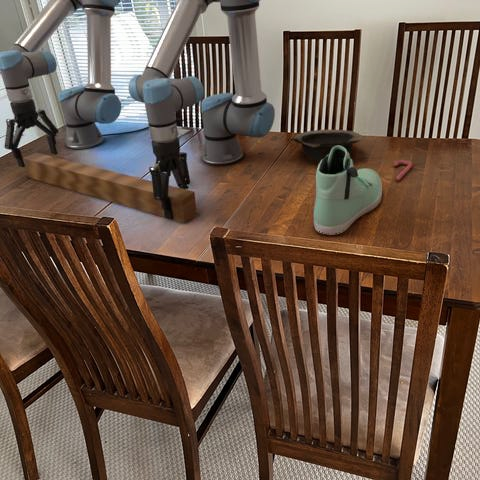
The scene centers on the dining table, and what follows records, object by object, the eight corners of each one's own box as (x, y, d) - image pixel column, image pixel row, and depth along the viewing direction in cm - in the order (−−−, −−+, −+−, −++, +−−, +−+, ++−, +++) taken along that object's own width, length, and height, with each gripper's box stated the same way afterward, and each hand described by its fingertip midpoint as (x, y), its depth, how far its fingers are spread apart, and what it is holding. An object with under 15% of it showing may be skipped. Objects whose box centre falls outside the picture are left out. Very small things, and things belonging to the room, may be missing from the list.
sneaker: (389, 187, 148) (396, 123, 138) (356, 242, 123) (361, 168, 112) (346, 181, 154) (350, 119, 144) (306, 232, 129) (307, 161, 118)
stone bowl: (320, 174, 160) (319, 147, 155) (281, 157, 180) (279, 132, 176) (378, 156, 168) (378, 130, 164) (334, 141, 189) (333, 118, 184)
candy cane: (380, 178, 154) (381, 174, 154) (397, 162, 164) (397, 158, 164) (399, 182, 151) (399, 178, 150) (414, 165, 161) (415, 161, 161)
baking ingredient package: (154, 138, 201) (173, 127, 213) (154, 139, 202) (173, 128, 213) (171, 140, 198) (190, 129, 209) (171, 141, 198) (190, 130, 209)
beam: (28, 177, 176) (22, 158, 172) (42, 171, 180) (36, 152, 176) (184, 223, 138) (181, 199, 134) (197, 214, 142) (194, 191, 138)
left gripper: (-7, 111, 150) (13, 174, 161) (59, 92, 168) (73, 150, 178) (-20, 108, 154) (1, 170, 165) (45, 90, 171) (60, 147, 182)
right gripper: (151, 152, 122) (164, 230, 134) (197, 130, 135) (205, 203, 147) (130, 148, 126) (145, 224, 138) (176, 126, 139) (186, 198, 151)
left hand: (38, 160), depth 172 cm, fingers open, 13 cm apart
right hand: (176, 213), depth 143 cm, fingers closed on beam, 6 cm apart
